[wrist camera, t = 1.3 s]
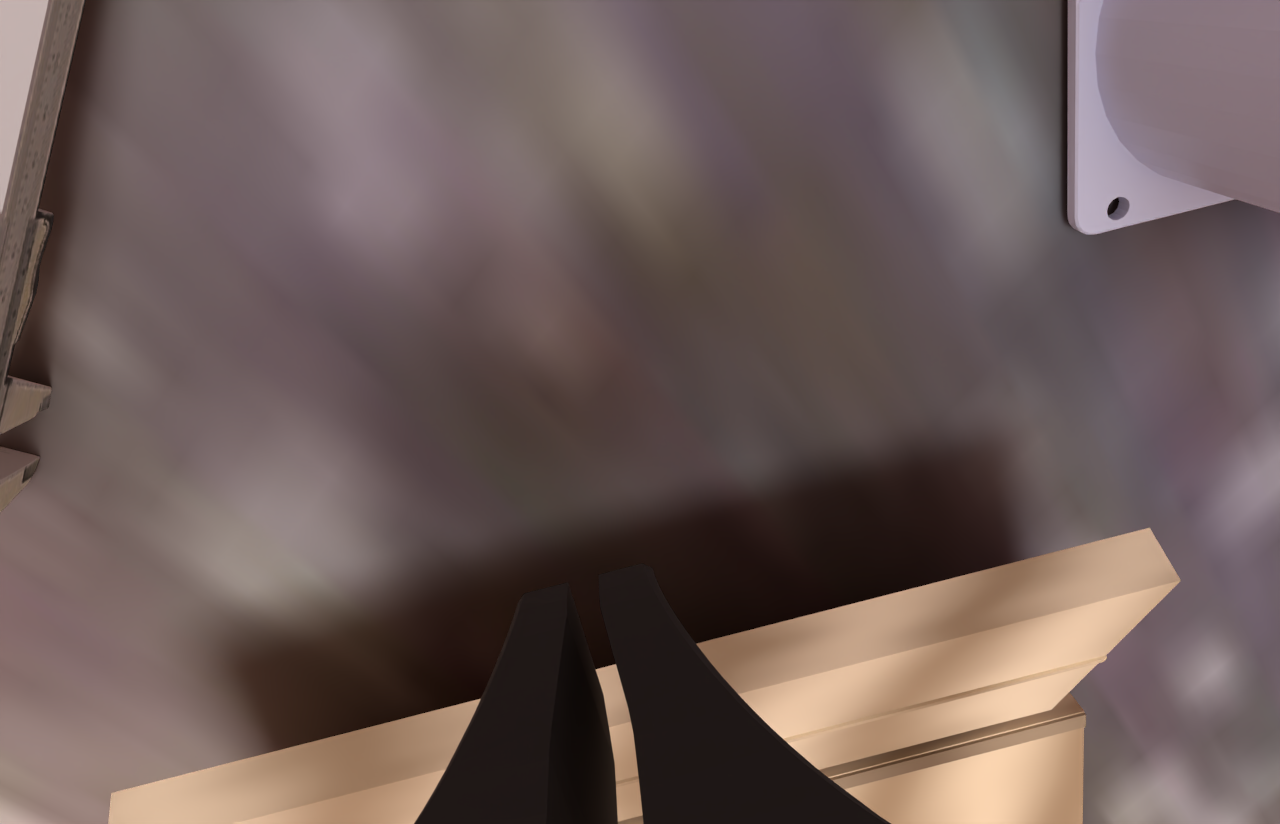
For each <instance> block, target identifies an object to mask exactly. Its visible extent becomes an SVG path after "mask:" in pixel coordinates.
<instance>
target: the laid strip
mask: <svg viewBox="0 0 1280 824" xmlns="http://www.w3.org/2000/svg"><path fill="white" fill-rule="evenodd" d="M1084 727H1086V714H1085V713H1084V710H1083V709H1082V708H1081V707H1080V705H1079V704H1078V703H1077V701H1076V700H1075V699H1074V697H1073V696H1072V695H1071V694H1070V692H1069V693H1068V694H1067V695H1066V696H1065V697H1064V698H1063V699H1062V700H1061V701H1060V702H1059V703H1058V704H1057V705H1056V706H1055V707H1054V708H1053V709H1052V710H1049V711H1045V712H1041V713H1037V714H1033V715H1029V716H1025V717H1022V718H1018V719H1014V720H1010V721H1006V722H1002V723H998V724H994V725H991V726H987V727H983V728H979V729H975V730H971V731H967V732H963V733H960V734H956V735H952V736H948V737H944V738H940V739H936V740H932V741H929V742H925V743H921V744H917V745H913V746H909V747H905V748H901V749H898V750H894V751H890V752H886V753H882V754H878V755H874V756H870V757H867V758H863V759H859V760H855V761H851V762H847V763H843V764H839V765H836V766H832V767H828V768H824V769H820V770H819V771H821V772H822V773H823V774H824V775H826V776H827V777H828V778H830V779H831V780H832V781H834V782H835V783H836V784H838V785H839V786H840V787H842V788H843V789H844V790H846V791H847V792H848V793H850V794H851V795H852V796H854V797H855V798H856V799H858V800H859V801H860V802H862V803H863V804H864V805H866V806H867V807H868V808H870V809H871V810H872V811H874V812H875V813H876V814H877V815H879V816H880V817H882V818H883V819H885V820H886V821H888V822H889V823H891V824H1082V821H1083V750H1084ZM618 824H643V815H642V816H638V817H634V818H630V819H626V820H623V821H619V822H618Z"/></svg>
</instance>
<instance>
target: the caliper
mask: <svg viewBox="0 0 1280 824" xmlns="http://www.w3.org/2000/svg"><path fill="white" fill-rule="evenodd" d="M85 1H86V0H0V434H2V433H4V432H6V431H8V430H10V429H12V428H14V427H16V426H18V425H20V424H22V423H24V422H26V421H28V420H30V419H32V418H33V417H35V416H36V414H37V412H39V411H42V410H44V409H47V408H48V407H49V401H50V395H51V387H49V386H45V385H42V384H38V383H34V382H31V381H27V380H23V379H20V378H16V377H12V376H9V375H8V373H9V368H10V364H11V359H12V355H13V350H14V346H15V343H16V342H17V341H18V340H19V338H20V336H21V333H22V330H23V327H24V325H25V322H26V319H27V317H28V314H29V311H30V308H31V306H32V303H33V300H34V297H35V295H36V292H37V286H38V279H39V267H40V263H41V259H42V255H43V252H44V250H45V247H46V244H47V241H48V238H49V235H50V232H51V229H52V225H53V218H54V216H53V213H51V212H48V211H45V210H42V209H39V204H40V200H41V195H42V191H43V186H44V182H45V178H46V173H47V169H48V164H49V160H50V156H51V151H52V147H53V142H54V138H55V134H56V129H57V125H58V120H59V116H60V112H61V107H62V103H63V98H64V94H65V89H66V85H67V81H68V76H69V72H70V67H71V63H72V59H73V54H74V50H75V45H76V41H77V37H78V32H79V28H80V23H81V19H82V15H83V10H84V6H85ZM39 458H40V456H36V455H32V454H28V453H24V452H21V451H17V450H13V449H9V448H5V447H1V446H0V513H1V512H2V510H3V509H4V508H5V507H6V506H7V505H8V504H9V503H10V502H11V501H12V500H13V499H14V498H15V497H16V496H17V495H18V494H19V493H20V491H21V490H22V489H23V488H24V487H25V486H26V485H27V484H28V483H29V482H30V480H31V478H32V476H33V474H34V472H35V470H36V467H37V464H38V461H39Z"/></svg>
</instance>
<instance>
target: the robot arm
mask: <svg viewBox="0 0 1280 824" xmlns="http://www.w3.org/2000/svg"><path fill="white" fill-rule="evenodd" d="M1116 198H1118V199H1119V204H1118V208H1117V209H1116V210H1115V212H1114V213H1112V214H1110V215H1108V214H1107V209H1108V205H1109V204H1110V203H1111V202H1112V200H1114V199H1116ZM1235 199H1237V200H1240V201H1243V202H1246V203H1249V204H1252V205H1256V206H1259V207H1262V208H1265V209H1268V210H1271V211H1275V212H1278V213H1280V0H1068V176H1067V216H1068V221H1069V224H1070V225H1071V226H1072V227H1073V229H1075V230H1077V231H1080V232H1082V233H1084V234H1087V235H1093V234H1099V233H1103V232H1107V231H1111V230H1115V229H1119V228H1123V227H1127V226H1131V225H1135V224H1139V223H1143V222H1147V221H1151V220H1155V219H1159V218H1163V217H1167V216H1171V215H1175V214H1179V213H1183V212H1187V211H1191V210H1195V209H1199V208H1203V207H1207V206H1211V205H1215V204H1219V203H1223V202H1227V201H1231V200H1235ZM599 596H600V608H601V612H602V615H603V619H604V623H605V626H606V630H607V633H608V637H609V641H610V644H611V648H612V652H613V655H614V659H615V662H616V666H617V670H618V673H619V677H620V681H621V684H622V688H623V691H624V695H625V699H626V702H627V706H628V710H629V715H630V719H631V724H632V729H633V734H634V742H635V751H636V759H637V768H638V776H639V785H640V794H641V804H642V814H643V824H891V823H889V822H888V821H886V820H885V819H883V818H882V817H880V816H879V815H877V814H876V813H875V812H874V811H872V810H871V809H870V808H868V807H867V806H866V805H864V804H863V803H862V802H860V801H859V800H858V799H856V798H855V797H854V796H852V795H851V794H850V793H848V792H847V791H846V790H844V789H843V788H842V787H840V786H839V785H838V784H836V783H835V782H834V781H832V780H831V779H830V778H828V777H827V776H826V775H824V774H823V773H822V772H821V771H819V770H818V769H817V768H816V767H815V766H813V765H812V764H811V763H810V762H809V761H808V760H806V759H805V758H804V757H803V756H802V755H801V754H799V753H798V752H797V751H796V750H795V749H794V748H793V747H791V746H790V745H789V744H788V743H787V742H786V741H785V740H784V739H783V738H782V737H780V736H779V735H778V734H777V733H776V732H775V731H774V730H773V729H772V728H771V727H770V726H769V725H768V724H767V723H766V722H765V721H764V720H763V719H762V718H761V717H760V716H759V715H758V714H757V713H756V712H755V711H754V710H753V709H752V708H751V707H750V706H749V705H748V704H747V703H746V702H745V701H744V700H743V699H742V698H741V697H740V696H739V695H738V693H737V692H736V691H735V690H734V689H733V688H732V687H731V686H730V685H729V683H728V682H727V681H726V680H725V679H724V678H723V677H722V676H721V674H720V673H719V672H718V671H717V670H716V668H715V667H714V666H713V665H712V664H711V662H710V661H709V660H708V659H707V657H706V656H705V655H704V653H703V652H702V651H701V650H700V648H699V647H698V646H697V644H696V643H695V642H694V640H693V639H692V638H691V637H690V635H689V634H688V632H687V631H686V630H685V628H684V627H683V625H682V624H681V622H680V621H679V619H678V618H677V616H676V615H675V613H674V612H673V610H672V608H671V607H670V605H669V604H668V602H667V600H666V598H665V597H664V595H663V593H662V591H661V589H660V587H659V585H658V582H657V580H656V578H655V575H654V572H653V569H652V568H651V567H649V566H647V565H645V564H639V565H635V566H631V567H627V568H623V569H619V570H615V571H611V572H607V573H603V574H599ZM414 824H618V815H617V796H616V777H615V762H614V756H613V750H612V743H611V737H610V731H609V725H608V719H607V713H606V707H605V701H604V695H603V692H602V688H601V685H600V682H599V679H598V676H597V673H596V669H595V666H594V663H593V660H592V657H591V654H590V650H589V647H588V644H587V641H586V638H585V635H584V631H583V628H582V625H581V622H580V619H579V616H578V612H577V609H576V606H575V603H574V600H573V597H572V593H571V590H570V587H569V584H568V583H564V584H560V585H556V586H552V587H548V588H544V589H540V590H536V591H532V592H529V593H525V594H523V596H522V597H521V599H520V600H519V602H518V604H517V607H516V610H515V614H514V617H513V619H512V622H511V625H510V628H509V631H508V634H507V636H506V639H505V642H504V644H503V647H502V650H501V652H500V655H499V657H498V660H497V662H496V665H495V667H494V670H493V672H492V674H491V677H490V679H489V681H488V683H487V686H486V688H485V690H484V693H483V695H482V697H481V699H480V702H479V704H478V706H477V708H476V711H475V713H474V715H473V717H472V719H471V721H470V723H469V725H468V727H467V729H466V731H465V733H464V735H463V737H462V739H461V741H460V743H459V745H458V747H457V749H456V751H455V753H454V755H453V757H452V759H451V761H450V763H449V764H448V766H447V768H446V770H445V772H444V774H443V776H442V777H441V779H440V781H439V783H438V785H437V786H436V788H435V790H434V792H433V793H432V795H431V797H430V798H429V800H428V802H427V803H426V805H425V807H424V809H423V810H422V812H421V813H420V815H419V817H418V818H417V820H416V821H415V823H414Z"/></svg>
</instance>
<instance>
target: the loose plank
mask: <svg viewBox="0 0 1280 824" xmlns="http://www.w3.org/2000/svg"><path fill="white" fill-rule="evenodd" d="M1180 581H1181V580H1180V578H1179V577H1178V575H1177V573H1176V572H1175V570H1174V568H1173V567H1172V565H1171V563H1170V562H1169V560H1168V558H1167V556H1166V555H1165V553H1164V551H1163V550H1162V548H1161V546H1160V545H1159V543H1158V541H1157V540H1156V538H1155V536H1154V534H1153V533H1152V531H1151V529H1150V528H1147V529H1143V530H1139V531H1135V532H1131V533H1127V534H1123V535H1119V536H1115V537H1112V538H1108V539H1104V540H1100V541H1096V542H1092V543H1088V544H1084V545H1080V546H1076V547H1072V548H1069V549H1065V550H1061V551H1057V552H1053V553H1049V554H1045V555H1041V556H1037V557H1033V558H1029V559H1025V560H1022V561H1018V562H1014V563H1010V564H1006V565H1002V566H998V567H994V568H990V569H986V570H982V571H979V572H975V573H971V574H967V575H963V576H959V577H955V578H951V579H947V580H943V581H939V582H935V583H932V584H928V585H924V586H920V587H916V588H912V589H908V590H904V591H900V592H896V593H892V594H889V595H885V596H881V597H877V598H873V599H869V600H865V601H861V602H857V603H853V604H849V605H845V606H842V607H838V608H834V609H830V610H826V611H822V612H818V613H814V614H810V615H806V616H802V617H798V618H795V619H791V620H787V621H783V622H779V623H775V624H771V625H767V626H763V627H759V628H755V629H752V630H748V631H744V632H740V633H736V634H732V635H728V636H724V637H720V638H716V639H712V640H708V641H705V642H701V643H697V646H698V647H699V648H700V650H701V651H702V652H703V653H704V655H705V656H706V657H707V659H708V660H709V661H710V662H711V664H712V665H713V666H714V667H715V668H716V670H717V671H718V672H719V673H720V674H721V676H722V677H723V678H724V679H725V680H726V681H727V682H728V683H729V685H730V686H731V687H732V688H733V689H734V690H735V691H736V692H737V693H738V695H739V696H740V697H741V698H742V699H743V700H744V701H745V702H746V703H747V704H748V705H749V706H750V707H751V708H752V709H753V710H754V711H755V712H756V713H757V714H758V715H759V716H760V717H761V718H762V719H763V720H764V721H765V722H766V723H767V724H768V725H769V726H770V727H771V728H772V729H773V730H774V731H775V732H776V733H777V734H778V735H779V736H780V737H782V738H783V739H784V740H785V741H786V742H787V743H788V744H789V745H790V746H791V747H793V748H794V749H795V750H796V751H797V752H798V753H799V754H801V755H802V756H803V757H804V758H805V759H806V760H808V761H809V762H810V763H811V764H812V765H813V766H815V767H816V768H817V769H818V770H820V769H824V768H828V767H832V766H836V765H839V764H843V763H847V762H851V761H855V760H859V759H863V758H867V757H870V756H874V755H878V754H882V753H886V752H890V751H894V750H898V749H901V748H905V747H909V746H913V745H917V744H921V743H925V742H929V741H932V740H936V739H940V738H944V737H948V736H952V735H956V734H960V733H963V732H967V731H971V730H975V729H979V728H983V727H987V726H991V725H994V724H998V723H1002V722H1006V721H1010V720H1014V719H1018V718H1022V717H1025V716H1029V715H1033V714H1037V713H1041V712H1045V711H1049V710H1052V709H1053V708H1054V707H1055V706H1056V705H1057V704H1058V703H1059V702H1060V701H1061V700H1062V699H1063V698H1064V697H1065V696H1066V695H1067V694H1068V693H1069V692H1070V691H1071V690H1072V689H1073V688H1074V687H1075V686H1076V685H1077V684H1078V683H1079V682H1080V681H1081V680H1082V679H1083V678H1084V677H1085V676H1086V675H1087V674H1088V673H1089V672H1090V671H1091V670H1092V669H1093V668H1094V667H1095V666H1096V665H1097V664H1098V663H1101V662H1104V661H1105V660H1106V659H1107V657H1106V655H1107V654H1108V653H1109V652H1110V651H1111V650H1112V649H1113V648H1114V647H1115V646H1116V645H1117V644H1118V643H1119V642H1120V641H1121V640H1122V639H1123V638H1124V637H1125V636H1126V635H1127V634H1128V633H1129V632H1130V631H1131V630H1132V629H1133V628H1134V627H1135V626H1136V625H1137V624H1138V623H1139V622H1140V621H1141V620H1142V619H1143V618H1144V617H1145V616H1146V615H1147V614H1148V613H1149V612H1150V611H1151V610H1152V609H1153V608H1154V607H1155V606H1156V605H1157V604H1158V603H1159V602H1160V601H1161V600H1162V599H1163V598H1164V597H1165V596H1166V595H1167V594H1168V593H1169V592H1170V591H1171V590H1172V589H1173V588H1174V587H1175V586H1176V585H1177V584H1178V583H1179V582H1180ZM596 673H597V676H598V679H599V682H600V685H601V688H602V692H603V695H604V701H605V707H606V713H607V719H608V725H609V731H610V737H611V743H612V750H613V756H614V762H615V777H616V796H617V815H618V822H619V821H623V820H626V819H630V818H634V817H638V816H642V815H643V814H642V804H641V794H640V785H639V776H638V768H637V759H636V751H635V742H634V734H633V729H632V724H631V719H630V715H629V710H628V706H627V702H626V699H625V695H624V691H623V688H622V684H621V681H620V677H619V673H618V670H617V666H616V664H615V665H611V666H607V667H603V668H599V669H596ZM479 702H480V699H478V700H474V701H470V702H466V703H462V704H458V705H454V706H450V707H446V708H442V709H438V710H435V711H431V712H427V713H423V714H419V715H415V716H411V717H407V718H403V719H399V720H395V721H391V722H388V723H384V724H380V725H376V726H372V727H368V728H364V729H360V730H356V731H352V732H348V733H345V734H341V735H337V736H333V737H329V738H325V739H321V740H317V741H313V742H309V743H305V744H301V745H298V746H294V747H290V748H286V749H282V750H278V751H274V752H270V753H266V754H262V755H258V756H254V757H251V758H247V759H243V760H239V761H235V762H231V763H227V764H223V765H219V766H215V767H211V768H208V769H204V770H200V771H196V772H192V773H188V774H184V775H180V776H176V777H172V778H168V779H164V780H161V781H157V782H153V783H149V784H145V785H141V786H137V787H133V788H129V789H125V790H121V791H118V792H114V793H111V802H110V812H109V821H108V824H414V823H415V821H416V820H417V818H418V817H419V815H420V813H421V812H422V810H423V809H424V807H425V805H426V803H427V802H428V800H429V798H430V797H431V795H432V793H433V792H434V790H435V788H436V786H437V785H438V783H439V781H440V779H441V777H442V776H443V774H444V772H445V770H446V768H447V766H448V764H449V763H450V761H451V759H452V757H453V755H454V753H455V751H456V749H457V747H458V745H459V743H460V741H461V739H462V737H463V735H464V733H465V731H466V729H467V727H468V725H469V723H470V721H471V719H472V717H473V715H474V713H475V711H476V708H477V706H478V704H479Z"/></svg>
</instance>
